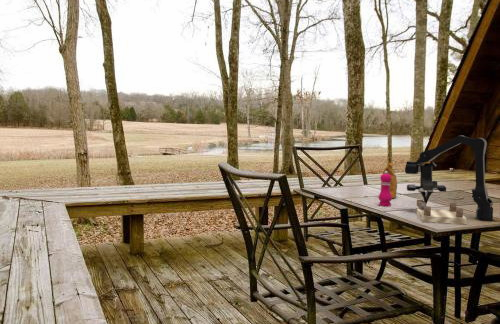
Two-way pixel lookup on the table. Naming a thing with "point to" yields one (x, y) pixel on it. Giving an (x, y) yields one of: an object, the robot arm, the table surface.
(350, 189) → the table surface
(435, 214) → the stool seat
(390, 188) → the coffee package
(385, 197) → the pepper mill
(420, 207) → the hinged leg
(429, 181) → the robot arm
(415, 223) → the table surface
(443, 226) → the table surface
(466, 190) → the table surface
